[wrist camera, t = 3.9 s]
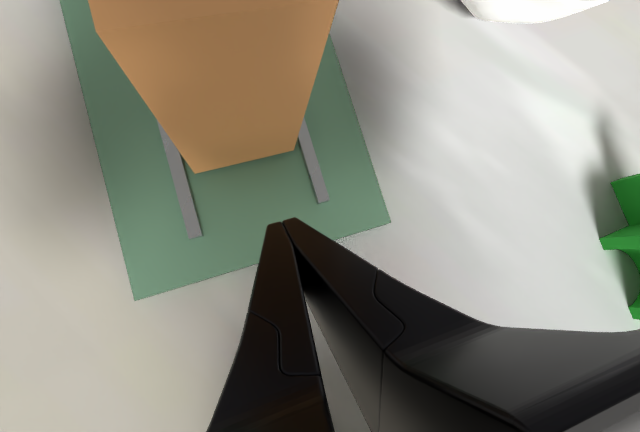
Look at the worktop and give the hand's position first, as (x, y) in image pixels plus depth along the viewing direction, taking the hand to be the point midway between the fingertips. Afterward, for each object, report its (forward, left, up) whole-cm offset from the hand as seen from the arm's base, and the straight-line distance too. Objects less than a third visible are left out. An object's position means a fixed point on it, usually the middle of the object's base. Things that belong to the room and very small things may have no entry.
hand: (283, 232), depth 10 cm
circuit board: (+9, +5, -8) cm, 13 cm away
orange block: (+5, +3, -7) cm, 9 cm away
